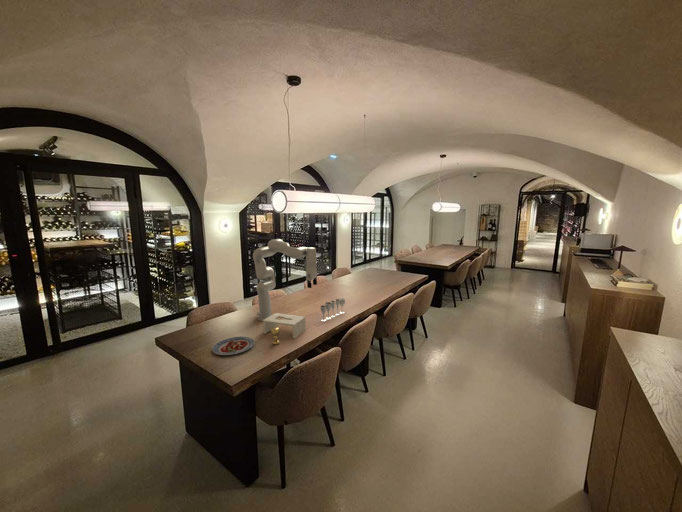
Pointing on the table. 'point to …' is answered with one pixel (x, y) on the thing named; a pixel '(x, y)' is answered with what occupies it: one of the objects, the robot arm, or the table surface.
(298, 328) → the keyhole shelf
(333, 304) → the goblet set
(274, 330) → the brass capped stopper
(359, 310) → the table surface
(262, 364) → the table surface
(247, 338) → the ceramic plate
